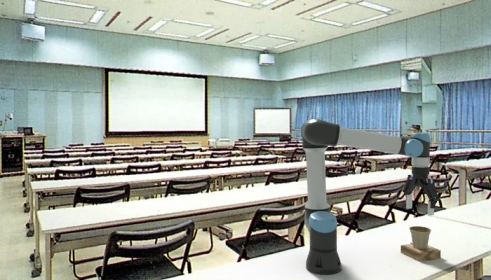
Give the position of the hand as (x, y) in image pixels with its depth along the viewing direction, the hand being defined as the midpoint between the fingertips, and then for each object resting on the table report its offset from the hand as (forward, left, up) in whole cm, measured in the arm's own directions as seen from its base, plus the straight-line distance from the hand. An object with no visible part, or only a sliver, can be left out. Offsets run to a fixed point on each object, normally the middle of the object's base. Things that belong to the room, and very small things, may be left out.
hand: (419, 211), depth 176 cm
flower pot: (0, 0, -17) cm, 17 cm away
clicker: (+5, +10, -21) cm, 24 cm away
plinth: (0, 0, -21) cm, 21 cm away
